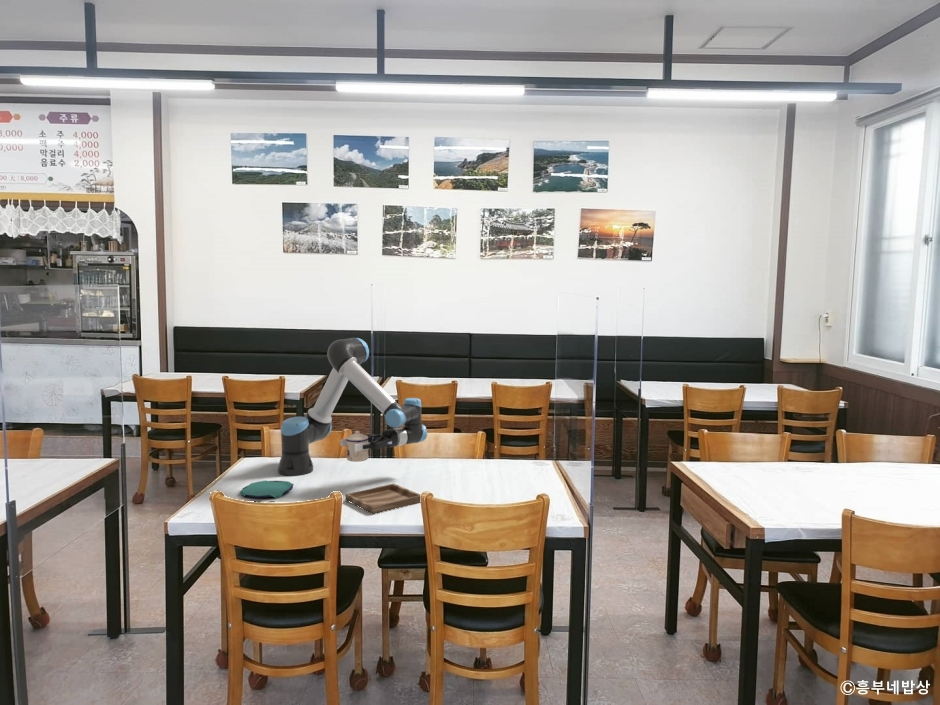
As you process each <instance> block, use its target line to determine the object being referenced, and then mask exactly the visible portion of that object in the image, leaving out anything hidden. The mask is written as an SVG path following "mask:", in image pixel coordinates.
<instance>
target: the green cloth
mask: <svg viewBox="0 0 940 705" xmlns="http://www.w3.org/2000/svg"><path fill="white" fill-rule="evenodd" d="M293 488H294V483H292V482H291V481H287V480H259V481H255V482H251V483H250V484H248V485H247V486H244V487H243V488H241V490H240V491H239V494H240V495H242V496H243V497H244V495H245V497H249V498H257V499H256V500H253V499H250V500H251V501H263V500H261V499H262V498H272V497H273V498H275V499H276V498H277V499H279V498H281V497H282V495H283V494H287V493H289V492H290V491H291V490H293ZM258 498H259V499H258ZM268 501H269V502H268V503H273V502H274V503H275V500H273V501H272V500H268Z"/></svg>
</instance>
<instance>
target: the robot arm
mask: <svg viewBox="0 0 940 705" xmlns="http://www.w3.org/2000/svg"><path fill="white" fill-rule="evenodd" d="M369 355H370V349H369V346H368V343H367V342H366V341H364V339H361V338H359V337H351V338H344V339H337V340H334V341H333V342H331V344H330V345H329V346H328V348H327V353H326V356H327V359H328V362H329V364H330V365H331V367H332V370H331V371H330V373H329V375H328V377H327V379H326V382H325V384H324V385H323V387H322V389H321V392H320V394H319V395H318V397H317V399H316V401H315V404H314V406H313V407H311V408H309V409H308V410H307V412H306V415H305V416H293V417H289V418H286V419H284V420H283V421H282V422H281V427H280V435H281V436H280V437H281V438H280V439H281V440H280V442H281V457H280V459H279V462H278V466H277V473H278V474H279V475H284V476H302V475H307V474H310V473H312V472H313V471H314V463H313V461H312V458H311V456H310V445H309V444H312V443H315V442H318V441H322V440H323V439H325V438H326V437H328V436H329V435H330V434H331V431H332V428H333V424H332V420H333V417H332V413H333V412H334V410H335V408H336V405H338V404H337V403H338V402H339V400H340V397H342V394H343V391H344V390H345V388H346V386H347V384H348V382H350V383H351V384H352V385H354V387H355V388H356V389H357V390H358V391H359V392H360V393H361V394H362V395H364V397H365V398H366V399H367V400H368V401H370V403H371V404H373V405H374V406H375V408H377V409H378V410H379V411H380V412H381V413H382V414H383V416H384V420H385V423H386V425H388V427H390V429H389V428H388V429H385V430H383V432H382V434H380V433H378V434H376V433H372V434H365V435H366V436H368V438H369V439H368V442H367V443H361V444H355V445H354V451H355V452H356V451H362V450H368V451H369V450H375V451H376V450H380V449H382V448H383V449H384V448H395V447H399V448H400V447H401V446H404V445H411V444H418V443H421V442H425V440H427V437H428V431H427V427H426V425H424V424H423V423H422V400H421V399H420V398H417V397H408V398H405V399H404V400H403V405H400V404H399V403H398V402H397V400H395V399H394V398H393V397H392V395H390V394H389V393H388V392H387V391H386V390H385V389H384V388H383V386H381V385H380V384H379V383H378V382H377V380H375V379H374V378H373V377H372V376H371V375H370V374H369V373H368V372H367V371H366V370H365V369H364V368H363V367H362V366H361V364H363V363H365V362H366V361H367V360H368V358H369ZM402 426H403V427H402ZM339 444H340V447H347V440H346V438H341V439H340V443H339Z"/></svg>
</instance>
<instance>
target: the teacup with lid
mask: <svg viewBox="0 0 940 705" xmlns="http://www.w3.org/2000/svg"><path fill="white" fill-rule="evenodd" d="M366 435H367V434H363V433H361V432H360V430H354V432H353V433H352V434H351V435H348V436H346V438H345V439H346V440H347V446H346V460H347V461H349V462H356V463H358V462H365V461H367V460H368V459H369V449H368V450H362V451H356V452H355V451H354V445H355V444H361V443H367V442H368V439H369V438H368V436H366Z"/></svg>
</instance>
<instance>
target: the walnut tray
mask: <svg viewBox="0 0 940 705" xmlns="http://www.w3.org/2000/svg"><path fill="white" fill-rule="evenodd" d="M420 495H421V494H420V493H417V492H414V491H413V490H410V489H407V488H406V487H404V486H400V485H399V484H396V483H391V484H386V485H385V484H384V485H381V486H376V487H372V488H367V489H362V490H358V491H353V492H349V493H345V495H344V496H345V497H344V498H345V499H344V500H347V501H350V502H352V503H354V504H355V505H358V506H359V507H361V508H363V509H364V510H363V509H362V510H363V511H365V510H366V511H365V512H367V511H368V512H367V513H369V512H370V513H369V514H371V513H372V514H371V515H376V514H375V513H377V514H381V513H384V512H383V511H385V512H388V511H387V510H389V511H392V510H391V509H393V510H396V509H395V508H397V509H400V508H399V507H401V508H404V507H403V506H405V507H408V505H409V506H411V505H412V506H413V505H416V504H421V503H420ZM347 501H346V502H347ZM355 505H354V506H355ZM359 507H358V508H359ZM361 508H360V509H361ZM380 512H381V513H380Z"/></svg>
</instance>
